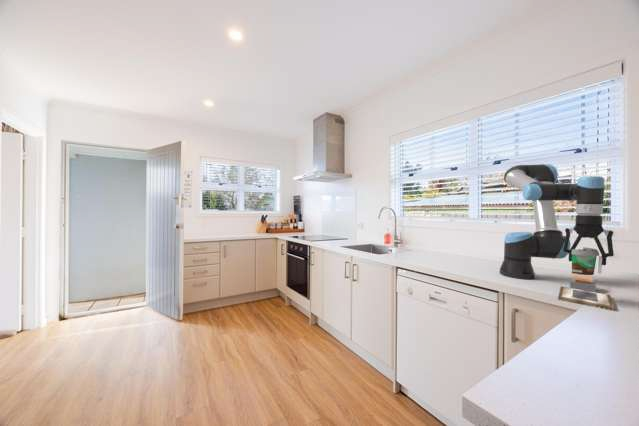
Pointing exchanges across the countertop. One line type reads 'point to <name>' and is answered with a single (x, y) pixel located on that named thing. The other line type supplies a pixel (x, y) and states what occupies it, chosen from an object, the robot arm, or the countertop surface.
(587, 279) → the button
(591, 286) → the button housing
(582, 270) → the food container
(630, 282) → the countertop surface
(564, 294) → the drawing board
